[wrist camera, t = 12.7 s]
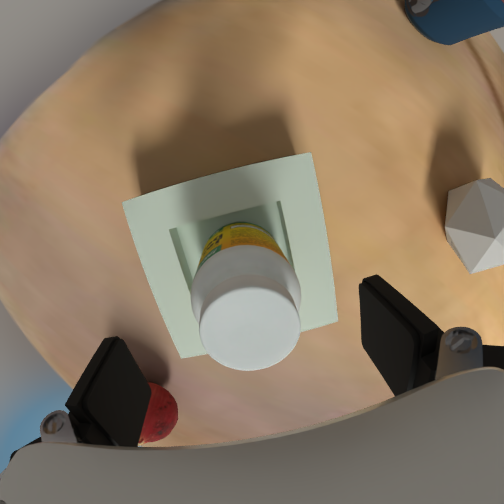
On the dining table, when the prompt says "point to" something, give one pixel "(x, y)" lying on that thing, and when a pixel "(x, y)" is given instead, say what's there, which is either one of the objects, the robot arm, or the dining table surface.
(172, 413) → the onion
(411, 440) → the robot arm
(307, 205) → the sage block
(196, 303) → the supplement bottle
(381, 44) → the dining table surface
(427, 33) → the soda can
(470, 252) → the die
